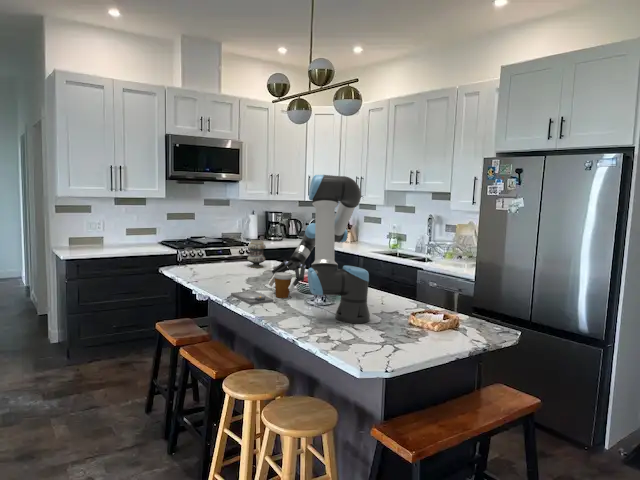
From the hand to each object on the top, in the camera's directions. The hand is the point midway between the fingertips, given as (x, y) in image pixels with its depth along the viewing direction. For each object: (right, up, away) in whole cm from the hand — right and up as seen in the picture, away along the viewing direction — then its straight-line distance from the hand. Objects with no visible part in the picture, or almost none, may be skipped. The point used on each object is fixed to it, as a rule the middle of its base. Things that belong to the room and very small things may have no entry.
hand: (279, 287), depth 245 cm
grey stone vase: (-23, +6, +82) cm, 85 cm away
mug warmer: (-13, -5, -5) cm, 15 cm away
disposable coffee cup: (+1, -5, +2) cm, 6 cm away
